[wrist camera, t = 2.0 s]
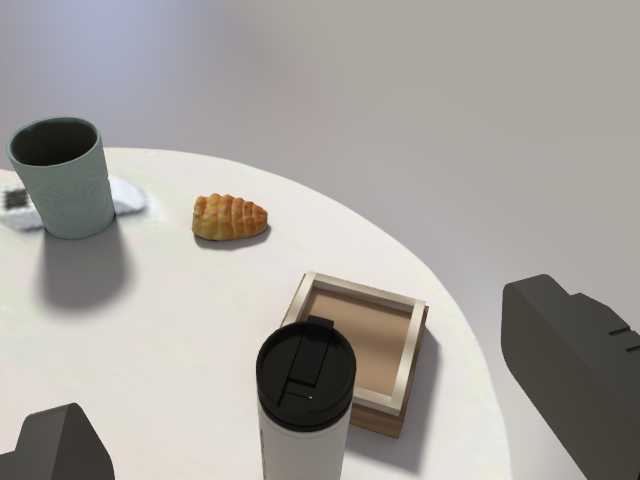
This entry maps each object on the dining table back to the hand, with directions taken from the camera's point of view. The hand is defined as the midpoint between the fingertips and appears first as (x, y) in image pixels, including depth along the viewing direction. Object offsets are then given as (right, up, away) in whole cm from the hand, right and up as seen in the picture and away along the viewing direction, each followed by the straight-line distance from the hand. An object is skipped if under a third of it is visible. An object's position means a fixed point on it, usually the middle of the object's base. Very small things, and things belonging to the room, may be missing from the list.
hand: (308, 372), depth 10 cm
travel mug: (-1, -19, +37) cm, 41 cm away
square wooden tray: (+3, -10, +46) cm, 47 cm away
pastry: (-12, +4, +60) cm, 62 cm away
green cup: (-30, +5, +60) cm, 67 cm away
